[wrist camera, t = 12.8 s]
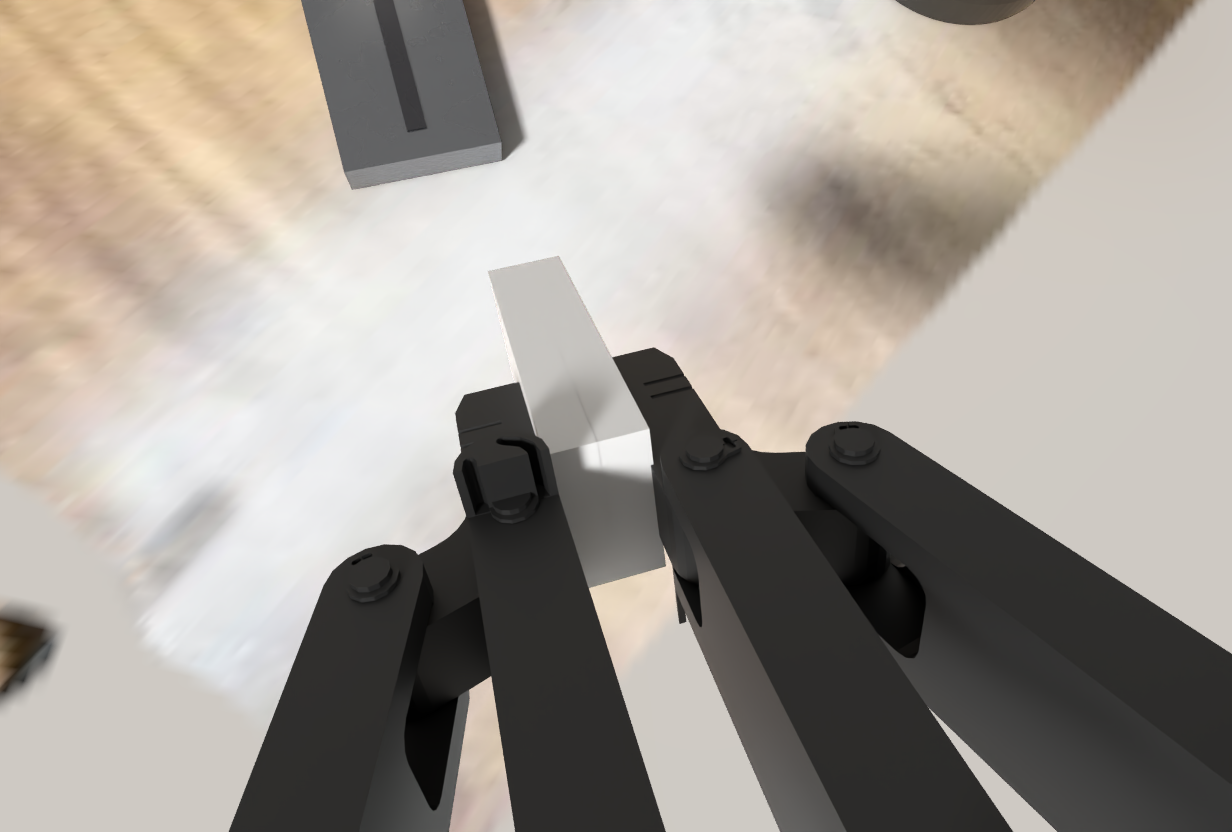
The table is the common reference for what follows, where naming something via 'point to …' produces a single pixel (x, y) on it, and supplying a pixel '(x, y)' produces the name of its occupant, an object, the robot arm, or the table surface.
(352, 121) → the grey slotted track base
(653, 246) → the table surface
